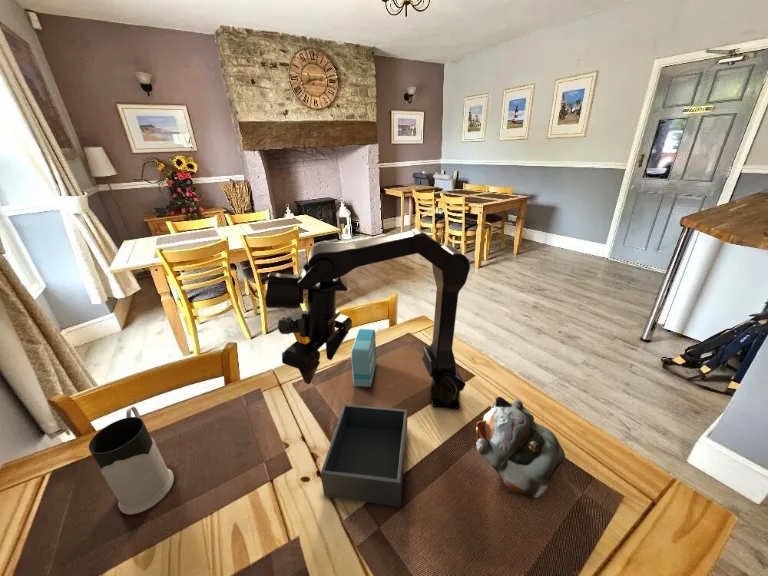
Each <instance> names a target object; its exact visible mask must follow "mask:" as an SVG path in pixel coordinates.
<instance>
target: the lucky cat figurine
mask: <svg viewBox="0 0 768 576" xmlns="http://www.w3.org/2000/svg"><path fill="white" fill-rule="evenodd" d="M475 426H476V428H475V430H476V450H477V452H478V454H479V455H480V456H481V458H483V460H485V462H487V463H488V465H489V466H490V467H491V468H493V470H495V472H496V473H497V474H498V475H499V476H500V477H501V479H502V480H503V483H504V484H505V486H506V487H507V488H509V490H511V491H512V492H515V493H519V494H523V495H526V496H532V497H533V498H534V499H538V498H540V497H541V496H542V495H543V494H544V493H545V492H546V491H547V489H548V486H549V482H550V481H551V478H552V476H553V475H554V474H555V472H556V471H557V469H558V468H559V467H560V466H561V465H562V464H563V463H564V461H565V459H566V454H565V450H564V449H563V448H562V445H561V443H560V442H559V440H558V438H557V436H556V434H555V433H554V432H553V431H552V430H550V429H549V428H548V427H546V426H544V425H542V424H540V423H538V422H536V421H535V417H534V415H533V414H532V413H531V412H530V411H529V410H528V409H527V408H525V407H524V403H523V402H522V401H521V400H520V398H515V400H512V401H511V402H509V401H507V400H506V399H505V398H503V396H497V397H495V402H494V403H493V405H492V407H491V409H490V410H488V411H487V412H486V413H485V414H484V415H483V419H479V420H478V421H477V422H476V425H475Z"/></svg>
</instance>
